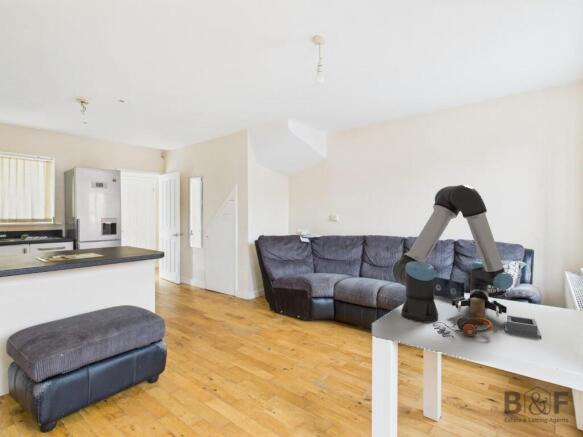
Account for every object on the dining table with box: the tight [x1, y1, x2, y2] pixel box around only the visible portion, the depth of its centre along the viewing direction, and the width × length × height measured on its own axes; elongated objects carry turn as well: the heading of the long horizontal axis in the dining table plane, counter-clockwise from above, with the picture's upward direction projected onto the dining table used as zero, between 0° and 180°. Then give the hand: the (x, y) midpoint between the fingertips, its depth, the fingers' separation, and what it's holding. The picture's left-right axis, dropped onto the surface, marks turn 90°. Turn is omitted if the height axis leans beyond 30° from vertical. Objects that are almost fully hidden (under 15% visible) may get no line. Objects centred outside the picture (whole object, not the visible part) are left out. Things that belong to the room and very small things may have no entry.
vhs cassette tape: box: [434, 275, 465, 301], centre depth 173 cm, size 18×3×10 cm, turn 27°
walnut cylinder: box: [469, 298, 485, 327], centre depth 134 cm, size 5×5×10 cm
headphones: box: [432, 316, 493, 340], centre depth 124 cm, size 17×5×20 cm
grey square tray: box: [503, 315, 542, 339], centre depth 126 cm, size 11×11×4 cm
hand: (477, 311), depth 132 cm, fingers open, 13 cm apart
